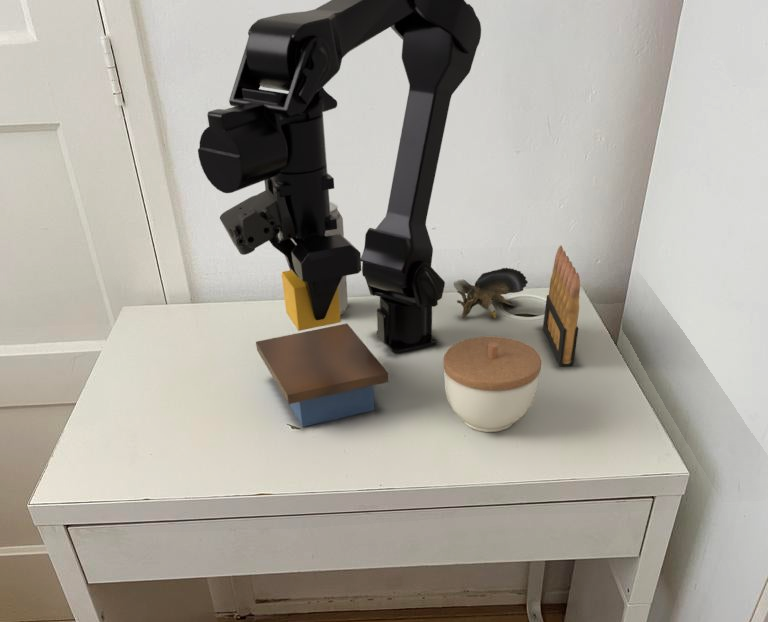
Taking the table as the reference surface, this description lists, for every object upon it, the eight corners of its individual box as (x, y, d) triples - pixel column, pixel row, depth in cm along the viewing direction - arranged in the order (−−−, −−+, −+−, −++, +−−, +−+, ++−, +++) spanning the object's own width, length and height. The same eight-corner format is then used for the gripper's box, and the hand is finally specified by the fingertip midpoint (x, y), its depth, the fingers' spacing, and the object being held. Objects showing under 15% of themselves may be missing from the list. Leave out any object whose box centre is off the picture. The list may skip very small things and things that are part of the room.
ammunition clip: (573, 366, 100) (586, 275, 92) (559, 366, 100) (571, 276, 92) (555, 328, 108) (566, 242, 100) (542, 329, 108) (552, 243, 100)
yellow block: (327, 305, 92) (323, 263, 89) (340, 322, 88) (337, 280, 85) (286, 313, 91) (281, 271, 87) (298, 331, 87) (293, 288, 84)
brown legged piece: (487, 324, 107) (537, 296, 109) (465, 276, 105) (515, 248, 108) (461, 333, 114) (508, 306, 117) (440, 288, 112) (488, 262, 115)
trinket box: (449, 446, 87) (451, 372, 81) (436, 397, 95) (437, 325, 89) (544, 440, 87) (554, 365, 81) (523, 391, 95) (530, 319, 89)
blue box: (341, 365, 102) (339, 337, 99) (374, 410, 93) (373, 380, 90) (274, 379, 99) (270, 351, 97) (302, 427, 90) (298, 397, 88)
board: (347, 331, 100) (347, 323, 99) (388, 382, 90) (388, 372, 89) (256, 350, 97) (255, 341, 96) (288, 404, 87) (287, 395, 86)
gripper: (201, 152, 84) (224, 291, 94) (242, 205, 70) (265, 360, 80) (300, 139, 86) (313, 274, 96) (358, 187, 73) (366, 339, 83)
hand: (312, 309), depth 89 cm, fingers closed on yellow block, 5 cm apart
